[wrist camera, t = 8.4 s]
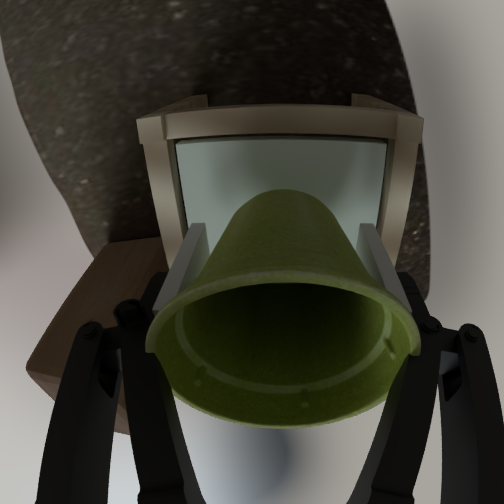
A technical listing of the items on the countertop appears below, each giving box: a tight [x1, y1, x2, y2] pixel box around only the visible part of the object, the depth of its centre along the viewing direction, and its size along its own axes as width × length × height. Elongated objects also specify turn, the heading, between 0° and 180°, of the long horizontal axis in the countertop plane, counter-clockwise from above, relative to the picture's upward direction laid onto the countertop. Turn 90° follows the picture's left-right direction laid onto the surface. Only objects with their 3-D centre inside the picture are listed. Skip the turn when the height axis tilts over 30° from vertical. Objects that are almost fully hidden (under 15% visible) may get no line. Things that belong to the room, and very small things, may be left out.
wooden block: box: [26, 236, 169, 435], centre depth 29 cm, size 10×10×20 cm
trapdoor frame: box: [136, 93, 424, 270], centre depth 24 cm, size 16×16×12 cm
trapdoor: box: [176, 136, 387, 255], centre depth 22 cm, size 20×12×4 cm, turn 3°
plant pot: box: [145, 189, 421, 429], centre depth 13 cm, size 9×9×9 cm
